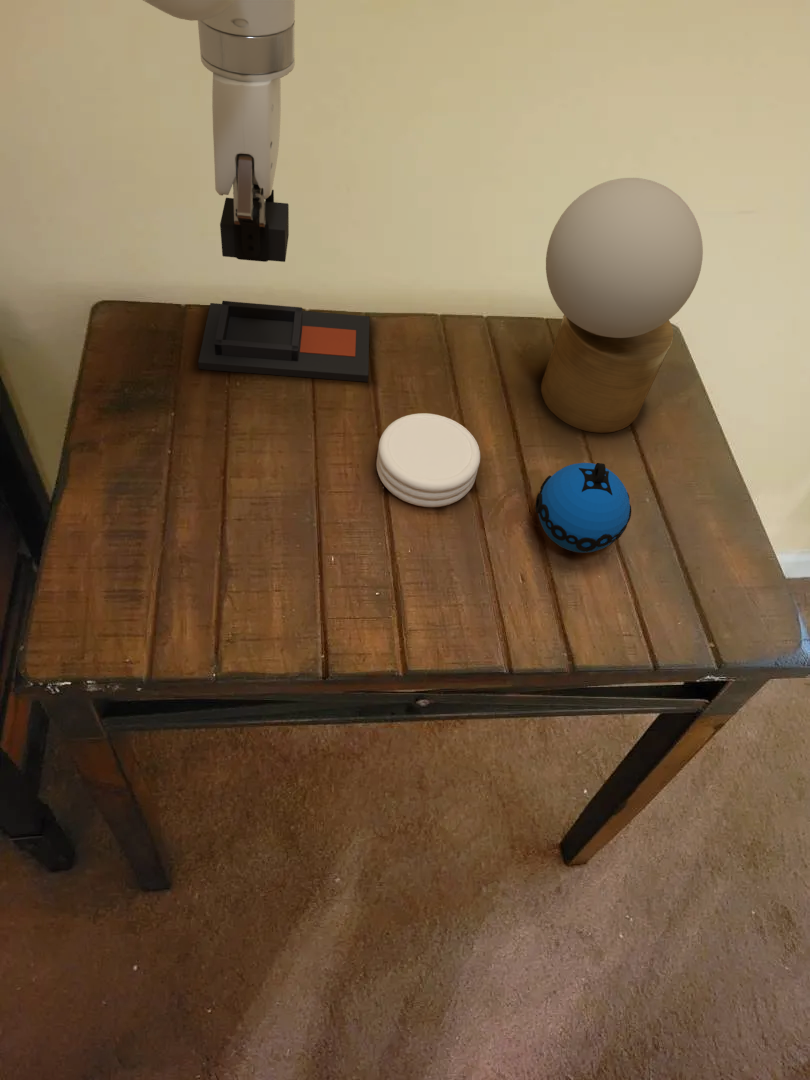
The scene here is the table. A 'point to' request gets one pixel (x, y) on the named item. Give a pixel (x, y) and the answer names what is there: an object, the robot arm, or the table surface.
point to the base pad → (285, 342)
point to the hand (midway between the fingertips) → (255, 240)
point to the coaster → (427, 460)
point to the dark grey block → (277, 229)
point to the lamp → (616, 298)
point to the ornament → (583, 507)
